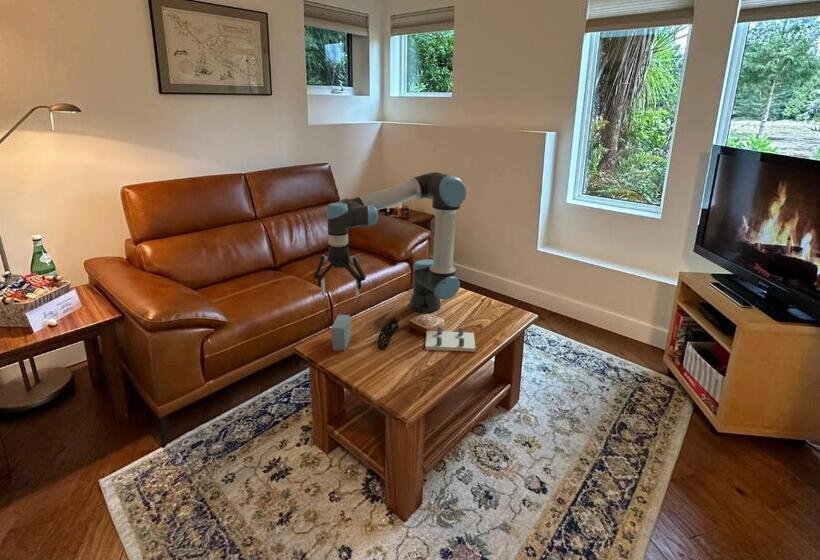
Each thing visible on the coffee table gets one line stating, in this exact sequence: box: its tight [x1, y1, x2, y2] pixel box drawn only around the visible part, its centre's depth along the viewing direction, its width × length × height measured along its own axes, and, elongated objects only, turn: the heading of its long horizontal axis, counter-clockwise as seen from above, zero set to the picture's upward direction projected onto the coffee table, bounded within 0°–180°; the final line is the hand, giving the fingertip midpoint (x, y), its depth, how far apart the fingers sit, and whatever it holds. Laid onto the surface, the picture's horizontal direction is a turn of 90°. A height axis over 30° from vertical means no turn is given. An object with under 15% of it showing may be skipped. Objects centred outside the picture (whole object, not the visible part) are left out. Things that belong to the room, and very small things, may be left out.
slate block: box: [330, 314, 352, 351], centre depth 191 cm, size 12×5×10 cm, turn 176°
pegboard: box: [424, 325, 476, 353], centre depth 192 cm, size 20×13×4 cm, turn 86°
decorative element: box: [377, 317, 400, 351], centre depth 196 cm, size 22×5×6 cm, turn 168°
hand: (340, 295), depth 184 cm, fingers open, 13 cm apart
